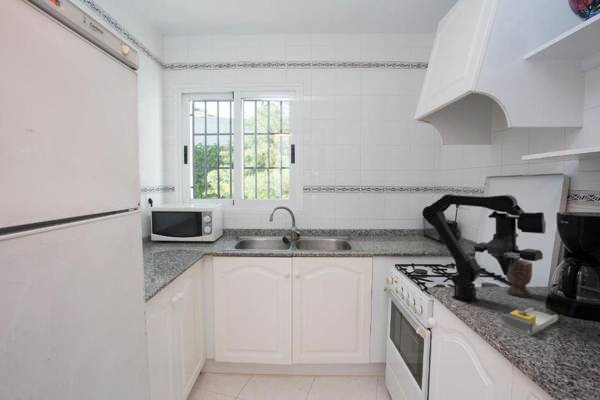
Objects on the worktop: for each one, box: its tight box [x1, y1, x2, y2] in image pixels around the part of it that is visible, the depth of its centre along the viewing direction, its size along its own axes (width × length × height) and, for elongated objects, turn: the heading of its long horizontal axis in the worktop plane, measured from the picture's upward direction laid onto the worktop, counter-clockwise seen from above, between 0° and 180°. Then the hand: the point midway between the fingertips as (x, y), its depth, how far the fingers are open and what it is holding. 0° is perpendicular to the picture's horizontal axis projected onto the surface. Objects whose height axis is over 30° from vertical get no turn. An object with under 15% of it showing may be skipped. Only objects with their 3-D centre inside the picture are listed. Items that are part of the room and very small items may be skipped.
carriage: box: [509, 309, 536, 327], centre depth 84 cm, size 5×4×4 cm
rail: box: [502, 307, 559, 337], centre depth 86 cm, size 7×18×4 cm, turn 118°
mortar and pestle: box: [505, 248, 533, 298], centre depth 108 cm, size 12×9×20 cm
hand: (506, 275), depth 96 cm, fingers closed
